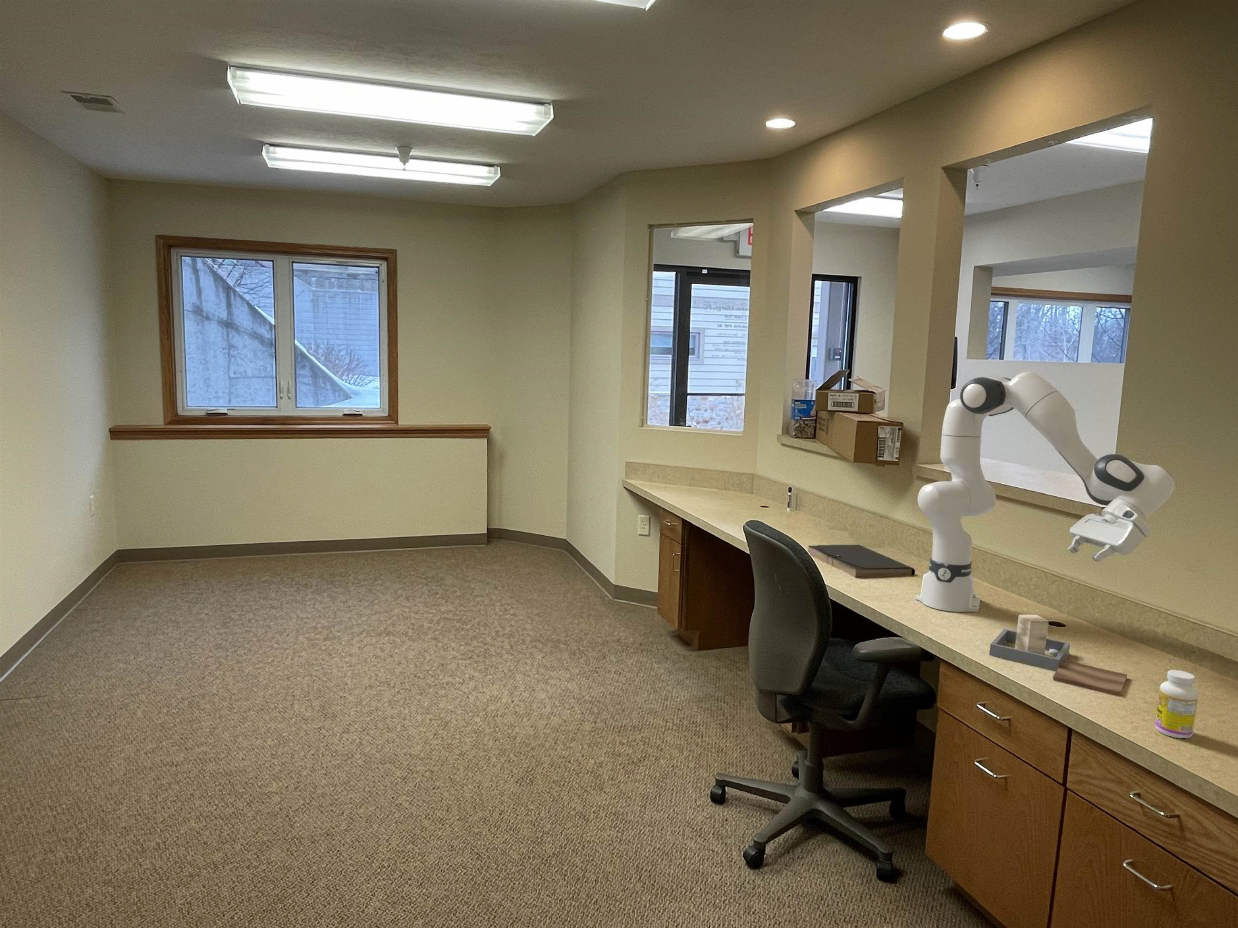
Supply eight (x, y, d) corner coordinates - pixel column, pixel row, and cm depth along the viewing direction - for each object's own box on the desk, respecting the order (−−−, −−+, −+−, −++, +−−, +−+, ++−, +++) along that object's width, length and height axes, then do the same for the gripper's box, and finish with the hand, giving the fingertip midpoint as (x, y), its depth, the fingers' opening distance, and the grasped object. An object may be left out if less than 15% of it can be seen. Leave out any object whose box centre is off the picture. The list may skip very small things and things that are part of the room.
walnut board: (1062, 663, 209) (1063, 659, 209) (1126, 678, 201) (1127, 674, 201) (1052, 679, 198) (1053, 675, 198) (1120, 696, 190) (1120, 692, 190)
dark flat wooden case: (807, 544, 313) (862, 543, 320) (806, 555, 313) (861, 554, 320) (855, 567, 281) (915, 566, 288) (854, 579, 282) (914, 577, 289)
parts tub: (1003, 639, 226) (1004, 628, 225) (1068, 653, 216) (1070, 642, 216) (989, 654, 213) (990, 643, 213) (1057, 671, 204) (1059, 659, 203)
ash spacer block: (1014, 651, 217) (1018, 614, 215) (1031, 650, 218) (1036, 614, 216) (1026, 658, 212) (1030, 621, 210) (1044, 658, 213) (1048, 620, 211)
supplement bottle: (1156, 722, 177) (1164, 665, 175) (1193, 732, 173) (1202, 673, 171) (1152, 732, 172) (1160, 673, 170) (1190, 743, 168) (1199, 683, 166)
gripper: (1087, 503, 222) (1050, 539, 222) (1142, 516, 202) (1101, 555, 202) (1101, 519, 223) (1064, 555, 223) (1157, 534, 203) (1117, 573, 203)
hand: (1082, 555), depth 212 cm, fingers open, 8 cm apart
